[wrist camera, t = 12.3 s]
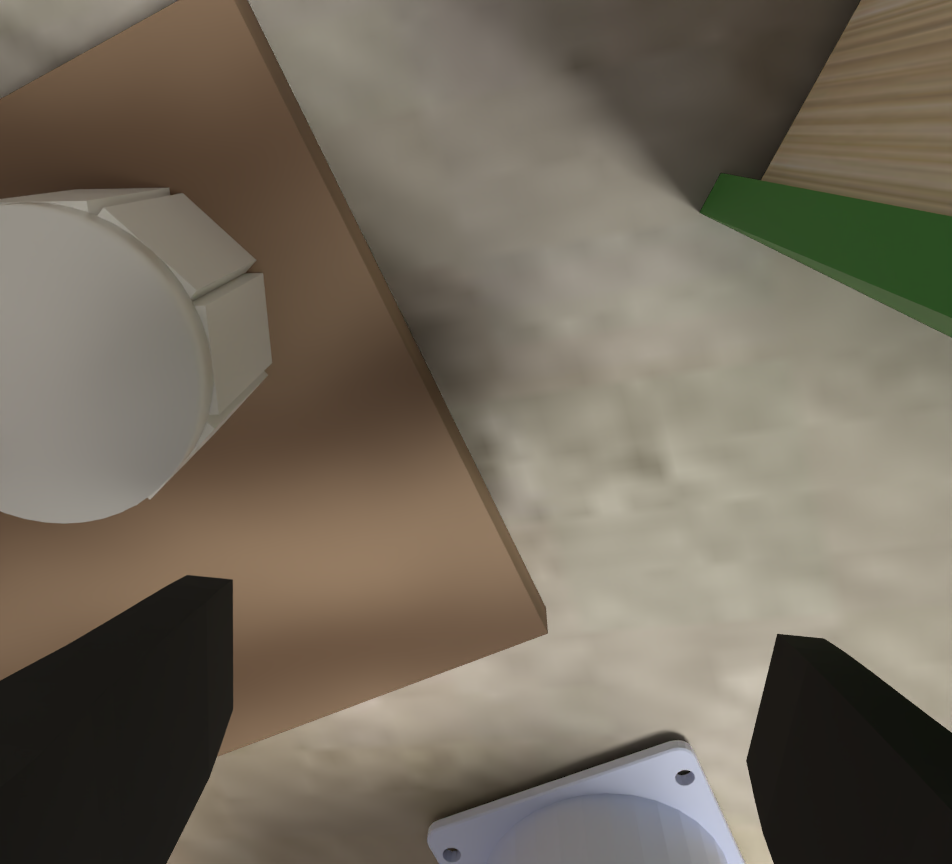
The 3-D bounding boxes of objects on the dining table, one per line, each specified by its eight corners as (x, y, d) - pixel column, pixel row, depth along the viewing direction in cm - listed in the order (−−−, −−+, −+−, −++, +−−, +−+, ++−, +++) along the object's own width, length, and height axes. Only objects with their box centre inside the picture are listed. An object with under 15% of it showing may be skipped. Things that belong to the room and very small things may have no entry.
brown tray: (545, 607, 22) (554, 711, 18) (-14, 819, 25) (-111, 947, 21) (240, -14, 18) (162, -57, 14) (-399, 337, 21) (-614, 385, 17)
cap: (113, 130, 17) (-14, 129, 13) (320, 318, 19) (264, 372, 14) (-33, 321, 19) (-189, 377, 15) (167, 485, 20) (75, 580, 16)
